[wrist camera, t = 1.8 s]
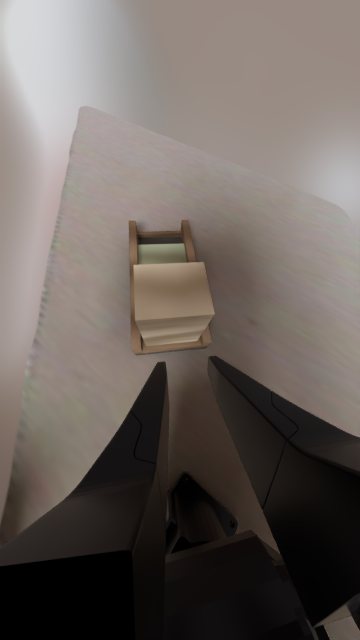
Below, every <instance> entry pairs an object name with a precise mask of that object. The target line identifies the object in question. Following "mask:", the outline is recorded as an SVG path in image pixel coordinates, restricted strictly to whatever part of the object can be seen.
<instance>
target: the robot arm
mask: <svg viewBox="0 0 360 640" xmlns="http://www.w3.org/2000/svg"><path fill="white" fill-rule="evenodd" d="M208 375H209V378H210V382H211V385H212V388H213V392H214V395H215V398H216V401H217V404H218V406H219V408H220V411H221V413H222V415H223V418H224V420H225V423H226V425H227V427H228V430H229V432H230V434H231V437H232V439H233V442H234V444H235V446H236V449H237V451H238V453H239V456H240V458H241V461H242V463H243V465H244V468H245V470H246V472H247V475H248V477H249V480H250V482H251V484H252V487H253V489H254V491H255V494H256V496H257V499H258V501H259V503H260V506H261V508H262V510H263V513H264V515H265V518H266V520H267V523H268V525H269V527H270V530H271V532H272V535H273V537H274V539H275V542H276V544H277V546H278V549H279V551H280V554H281V555H280V554H279V553H278V552H276V551H275V550H274V549H272V548H271V547H270V546H269V545H267V544H266V543H265V542H263V541H262V540H261V539H259V537H258V536H257V535H256V534H255V533H254V532H253V531H252V530H249V531H246V532H243V533H239V534H236V535H234V534H235V532H236V530H237V526H238V525H237V520H236V519H235V517H234V516H233V515H232V514H231V513H230V512H229V511H228V510H227V509H226V508H225V507H224V506H223V505H222V504H221V503H220V502H219V501H217V500H216V499H215V498H214V497H213V496H212V495H211V494H210V493H209V492H208V491H207V490H206V489H205V488H204V487H203V486H201V485H200V484H199V483H198V482H197V481H196V480H195V479H194V478H193V477H192V476H191V475H190V474H189V473H187V472H183V473H182V474H181V475H180V477H179V479H178V480H177V482H176V484H175V485H174V487H173V489H172V490H168V491H167V476H168V438H169V395H168V381H167V370H166V363H165V362H158V363H157V364H156V366H155V368H154V369H153V371H152V373H151V375H150V376H149V378H148V380H147V382H146V383H145V385H144V387H143V389H142V390H141V392H140V394H139V395H138V397H137V399H136V401H135V402H134V404H133V406H132V408H131V409H130V411H129V413H128V414H127V416H126V418H125V420H124V421H123V423H122V424H121V426H120V428H119V429H118V431H117V432H116V434H115V435H114V437H113V438H112V439H111V441H110V442H109V444H108V445H107V446H106V448H105V449H104V451H103V452H102V453H101V455H100V456H99V457H98V459H97V460H96V462H95V463H94V464H93V466H92V467H91V468H90V470H89V471H88V473H87V474H86V475H85V477H84V478H83V479H82V481H81V482H80V483H79V484H78V486H77V487H76V488H75V489H74V490H73V491H72V492H71V493H70V494H69V495H68V496H67V497H66V498H65V499H64V500H63V501H62V502H60V503H59V504H58V505H56V506H55V507H54V508H52V509H51V510H50V511H49V512H47V513H46V514H45V515H43V516H42V517H41V518H39V519H38V520H37V521H35V522H34V523H33V524H31V525H30V526H29V527H27V528H26V529H25V530H23V531H22V532H21V533H19V534H18V535H17V536H15V537H14V538H13V539H11V540H10V541H9V542H7V543H6V544H5V545H4V546H2V547H1V548H0V640H329V637H328V635H327V633H326V630H325V628H324V626H323V625H324V624H327V623H330V622H333V621H336V620H339V619H341V618H344V617H347V616H350V615H352V617H353V619H354V621H355V623H356V625H357V626H358V628H359V630H360V438H359V437H356V436H354V435H351V434H349V433H347V432H345V431H343V430H341V429H339V428H337V427H335V426H333V425H331V424H330V423H328V422H326V421H324V420H322V419H320V418H318V417H316V416H315V415H313V414H311V413H309V412H307V411H305V410H303V409H302V408H300V407H298V406H296V405H295V404H293V403H291V402H289V401H288V400H286V399H284V398H283V397H281V396H279V395H278V394H276V393H275V392H273V391H271V390H270V389H268V388H266V387H265V386H263V385H262V384H260V383H258V382H257V381H255V380H254V379H252V378H250V377H249V376H247V375H246V374H244V373H242V372H241V371H239V370H238V369H236V368H235V367H233V366H231V365H230V364H228V363H227V362H225V361H223V360H222V359H220V358H219V357H217V356H209V357H208ZM184 477H187V478H188V479H187V481H183V478H184ZM231 521H233V524H232V525H230V522H231Z"/></svg>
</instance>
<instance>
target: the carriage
mask: <svg viewBox="0 0 360 640" xmlns="http://www.w3.org/2000/svg"><path fill="white" fill-rule="evenodd" d="M133 266H134V300H135V322H136V324H137V326H138V329H139V331H140V333H141V335H142V338H143V340H144V342H145V345H146V346H152V345H162V344H172V343H182V342H192V341H197V340H198V339H199V337H200V336H201V334H202V333H203V331H204V330H205V328H206V327H207V325H208V324H209V322H210V321H211V319H212V318H213V316H214V315H215V312H214V308H213V303H212V298H211V294H210V289H209V284H208V280H207V275H206V270H205V266H204V262H191V263H167V264H144V265H133Z"/></svg>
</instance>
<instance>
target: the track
mask: <svg viewBox="0 0 360 640" xmlns="http://www.w3.org/2000/svg"><path fill="white" fill-rule="evenodd" d="M129 255H130V305H131V350H132V351H133V352H134V354H135V355H143V354H153V353H162V352H172V351H181V350H191V349H200V348H206V347H207V346H208V345H209V344H210V343H211V342H212V340H211V335H210V330H209V325H207V327H206V328H205V330H204V331H203V333H202V334H201V336H200V337H199V339H198V340H197V341H192V342H182V343H172V344H162V345H152V346H146V345H145V342H144V340H143V338H142V335H141V333H140V331H139V329H138V326H137V324H136V322H135V300H134V266H133V265H144V264H167V263H191V262H196V258H195V253H194V248H193V243H192V237H191V232H190V227H189V222H188V220H182V223H181V231H164V232H138V231H137V226H136V221H129Z"/></svg>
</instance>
